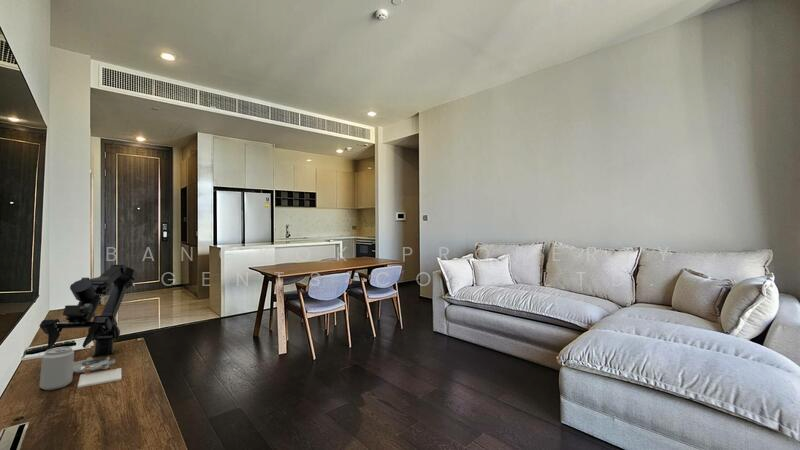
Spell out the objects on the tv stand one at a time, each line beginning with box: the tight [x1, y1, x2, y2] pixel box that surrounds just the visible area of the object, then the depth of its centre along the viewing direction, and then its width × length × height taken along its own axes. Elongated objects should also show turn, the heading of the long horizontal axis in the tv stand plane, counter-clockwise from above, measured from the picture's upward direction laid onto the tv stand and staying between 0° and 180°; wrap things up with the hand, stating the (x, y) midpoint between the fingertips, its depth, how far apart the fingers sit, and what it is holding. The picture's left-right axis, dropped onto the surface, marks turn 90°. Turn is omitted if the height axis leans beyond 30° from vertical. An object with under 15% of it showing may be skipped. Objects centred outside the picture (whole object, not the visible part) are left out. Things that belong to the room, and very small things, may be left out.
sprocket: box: [73, 355, 116, 374], centre depth 127 cm, size 16×16×2 cm
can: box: [39, 346, 75, 391], centre depth 111 cm, size 8×8×12 cm
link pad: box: [77, 367, 122, 389], centre depth 118 cm, size 11×11×1 cm
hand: (66, 347), depth 115 cm, fingers open, 9 cm apart
